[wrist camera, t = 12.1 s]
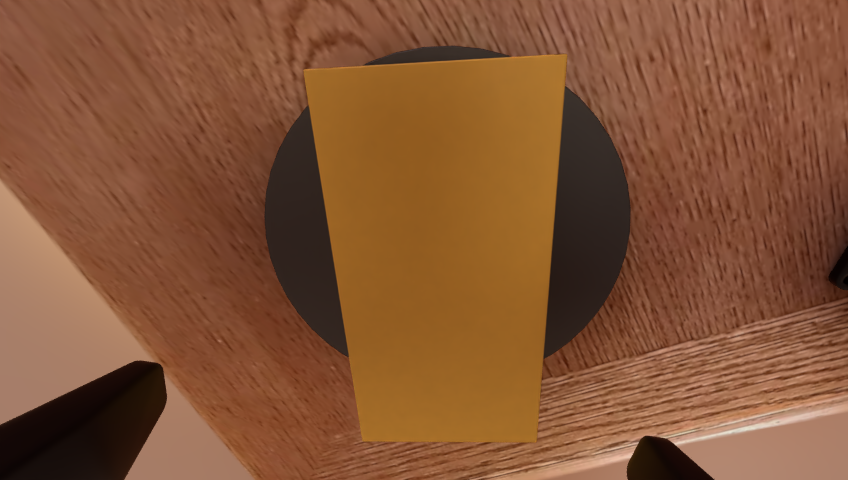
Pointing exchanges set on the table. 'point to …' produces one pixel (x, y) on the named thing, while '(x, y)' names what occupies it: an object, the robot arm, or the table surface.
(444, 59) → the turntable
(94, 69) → the table surface
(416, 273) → the book
